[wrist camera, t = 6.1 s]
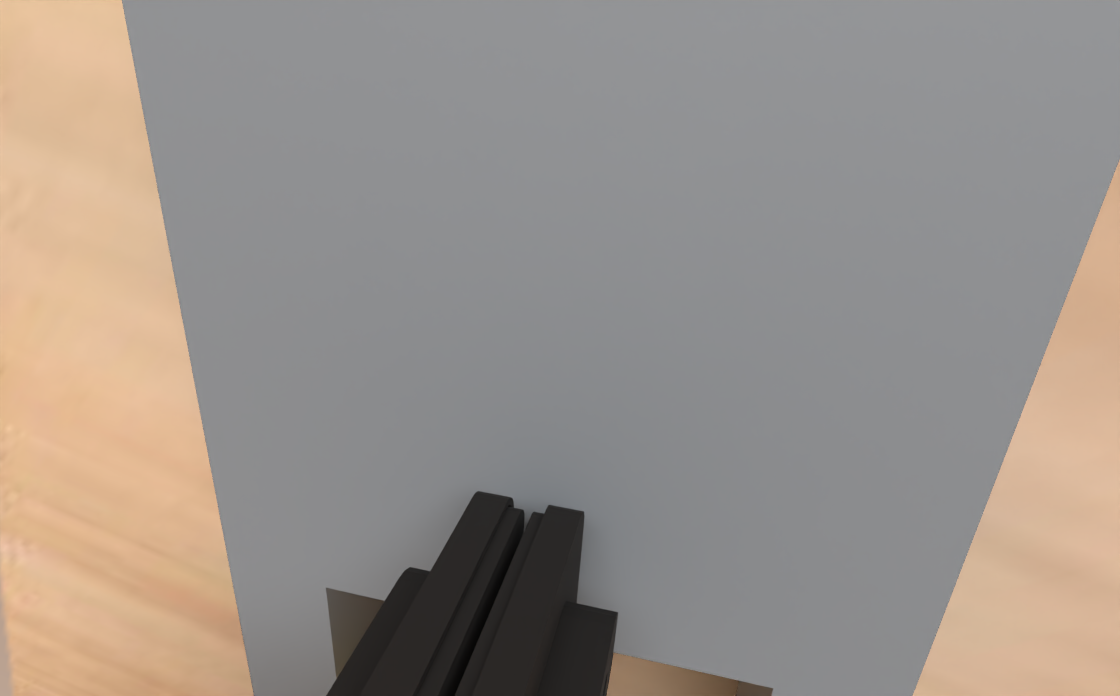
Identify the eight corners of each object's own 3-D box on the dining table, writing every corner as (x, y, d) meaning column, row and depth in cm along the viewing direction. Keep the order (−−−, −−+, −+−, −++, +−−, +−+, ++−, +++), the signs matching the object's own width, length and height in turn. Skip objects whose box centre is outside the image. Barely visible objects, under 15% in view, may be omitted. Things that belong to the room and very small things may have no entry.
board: (1196, -439, 8) (2735, -2017, 2) (779, 869, 18) (802, 1276, 12) (215, -384, 10) (-552, -1002, 4) (346, 751, 20) (186, 1046, 14)
